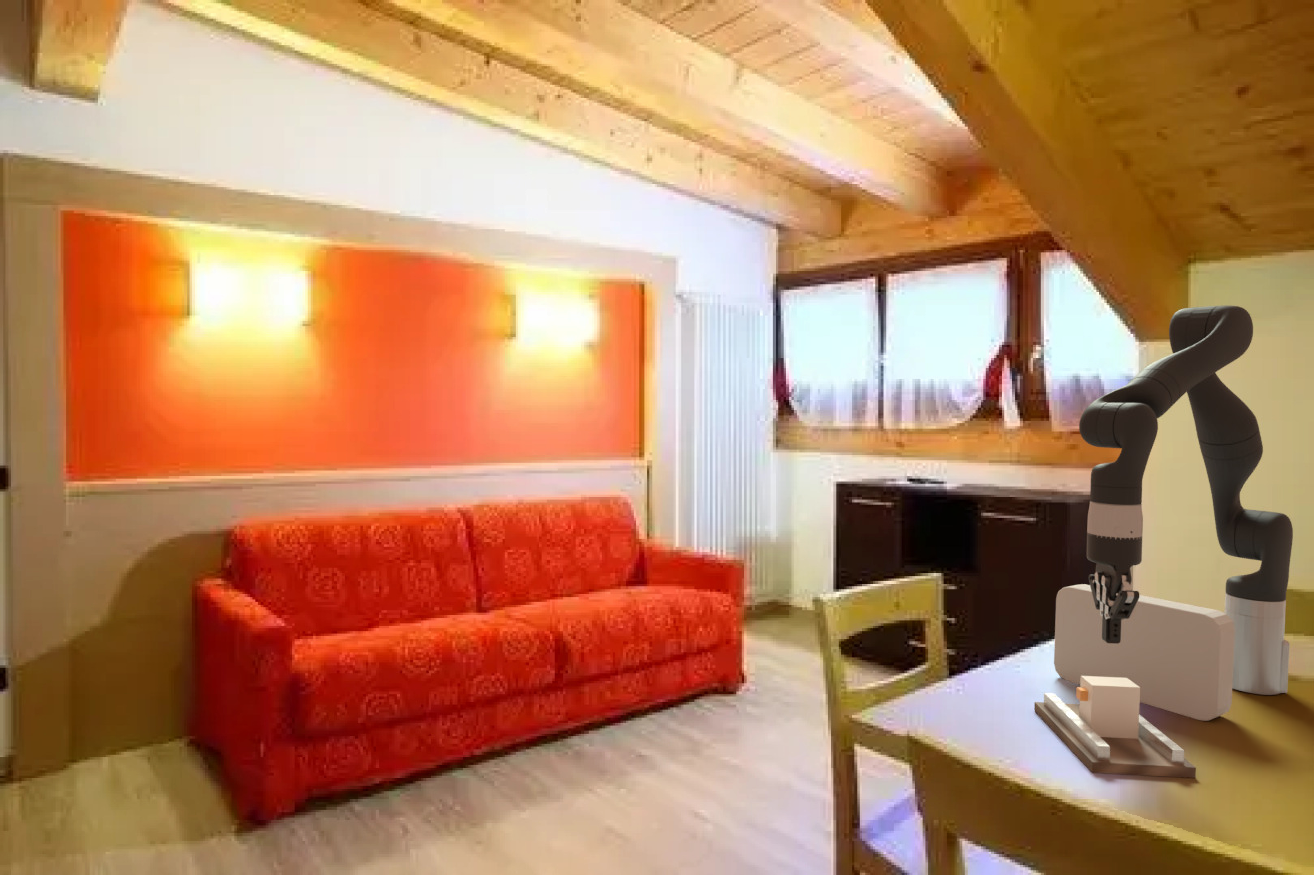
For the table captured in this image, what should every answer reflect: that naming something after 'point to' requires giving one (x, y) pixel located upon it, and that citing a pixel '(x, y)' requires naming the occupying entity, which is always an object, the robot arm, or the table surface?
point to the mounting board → (1117, 752)
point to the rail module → (1109, 706)
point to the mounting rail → (1098, 744)
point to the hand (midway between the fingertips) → (1110, 641)
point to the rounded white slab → (1151, 651)
